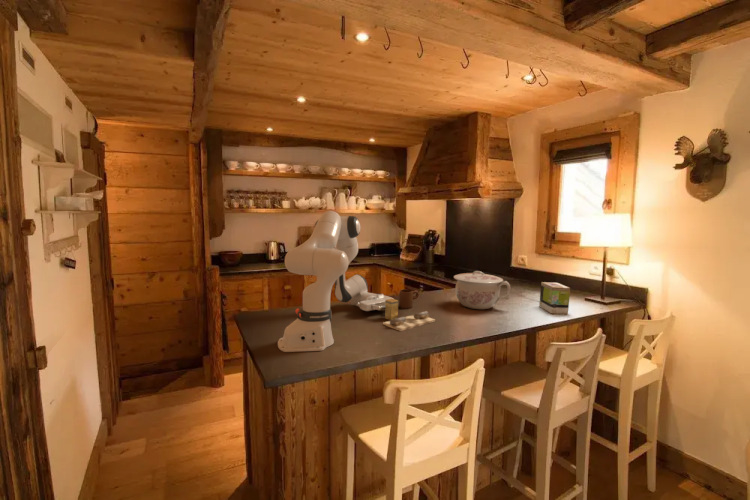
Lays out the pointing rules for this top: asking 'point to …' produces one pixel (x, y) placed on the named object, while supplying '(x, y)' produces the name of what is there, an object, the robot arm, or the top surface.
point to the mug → (407, 298)
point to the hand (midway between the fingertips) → (387, 306)
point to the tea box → (554, 297)
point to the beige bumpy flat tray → (409, 321)
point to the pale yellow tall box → (391, 309)
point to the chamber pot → (479, 290)
